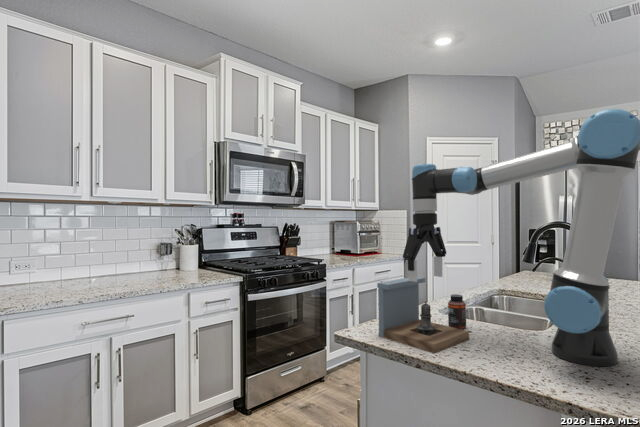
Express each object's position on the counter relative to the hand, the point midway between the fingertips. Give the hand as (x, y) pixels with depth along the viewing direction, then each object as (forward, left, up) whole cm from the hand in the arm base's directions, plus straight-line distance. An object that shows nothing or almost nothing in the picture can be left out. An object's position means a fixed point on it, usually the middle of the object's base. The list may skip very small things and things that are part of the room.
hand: (426, 278), depth 125 cm
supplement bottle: (0, -18, -19) cm, 27 cm away
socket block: (0, 0, -19) cm, 19 cm away
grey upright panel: (+10, 0, -19) cm, 21 cm away
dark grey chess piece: (0, 0, -19) cm, 19 cm away
